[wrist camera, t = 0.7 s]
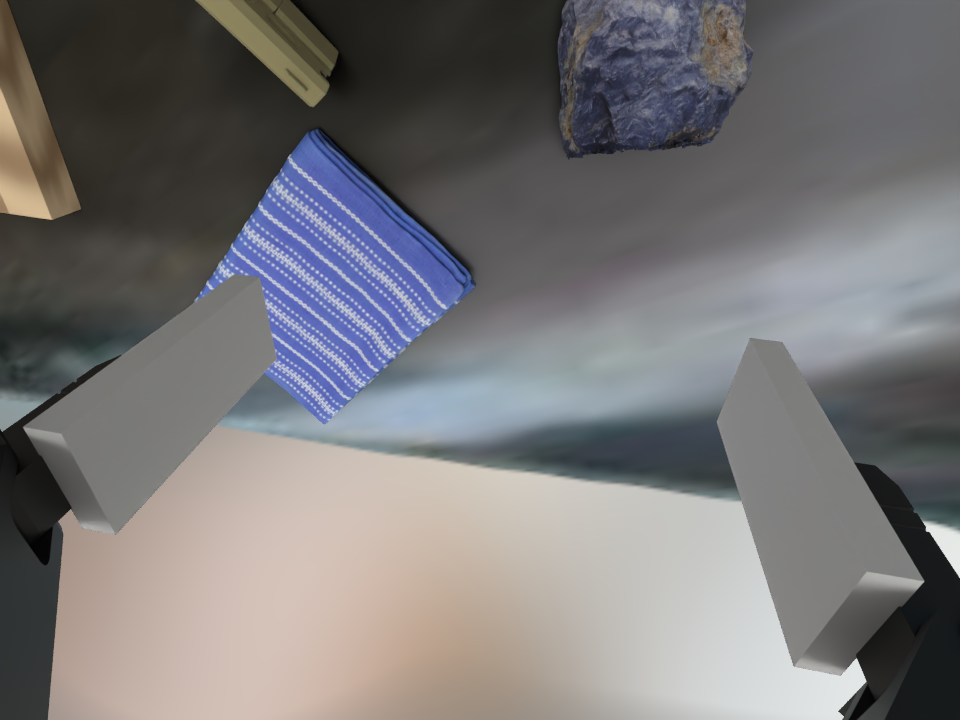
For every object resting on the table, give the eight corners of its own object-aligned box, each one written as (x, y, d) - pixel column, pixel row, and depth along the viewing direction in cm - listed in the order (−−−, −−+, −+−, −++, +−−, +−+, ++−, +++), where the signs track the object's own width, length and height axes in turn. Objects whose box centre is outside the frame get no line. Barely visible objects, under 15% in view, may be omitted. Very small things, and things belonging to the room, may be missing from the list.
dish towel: (486, 274, 43) (480, 289, 40) (334, 417, 55) (322, 434, 52) (319, 116, 38) (301, 122, 36) (192, 308, 50) (172, 322, 48)
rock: (558, 194, 35) (585, 139, 25) (542, 36, 35) (562, -87, 24) (721, 174, 35) (815, 110, 25) (707, 14, 34) (797, -119, 24)
